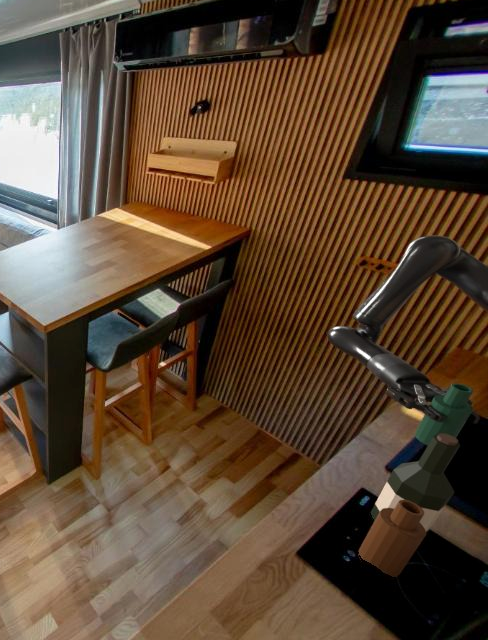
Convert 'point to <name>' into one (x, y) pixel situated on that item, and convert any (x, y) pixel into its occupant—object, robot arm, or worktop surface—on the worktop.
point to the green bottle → (447, 414)
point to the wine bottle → (422, 481)
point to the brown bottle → (394, 537)
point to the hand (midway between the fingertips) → (458, 420)
